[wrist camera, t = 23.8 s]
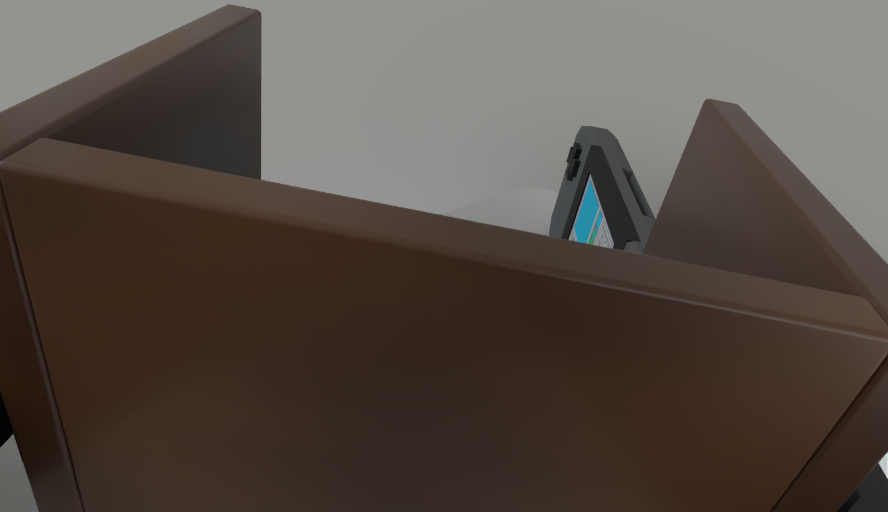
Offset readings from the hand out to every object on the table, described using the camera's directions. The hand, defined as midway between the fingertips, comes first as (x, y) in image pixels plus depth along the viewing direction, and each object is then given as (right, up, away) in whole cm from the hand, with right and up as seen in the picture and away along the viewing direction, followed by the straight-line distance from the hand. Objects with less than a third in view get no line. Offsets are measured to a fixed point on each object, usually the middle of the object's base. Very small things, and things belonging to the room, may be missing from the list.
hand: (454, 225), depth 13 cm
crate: (-1, -7, 0) cm, 7 cm away
